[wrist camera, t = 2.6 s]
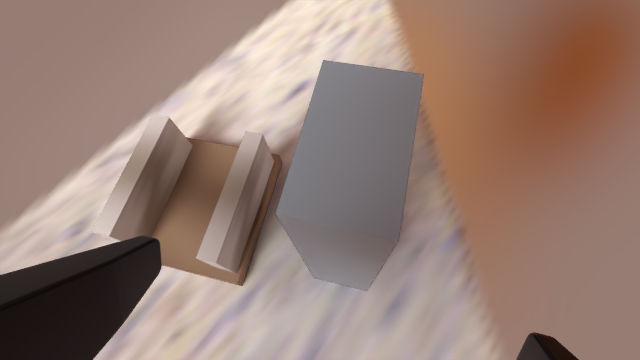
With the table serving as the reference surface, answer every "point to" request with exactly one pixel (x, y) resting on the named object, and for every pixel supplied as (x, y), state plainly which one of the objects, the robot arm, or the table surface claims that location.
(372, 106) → the gray rectangular block
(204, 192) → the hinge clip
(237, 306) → the table surface
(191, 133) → the table surface
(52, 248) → the table surface
